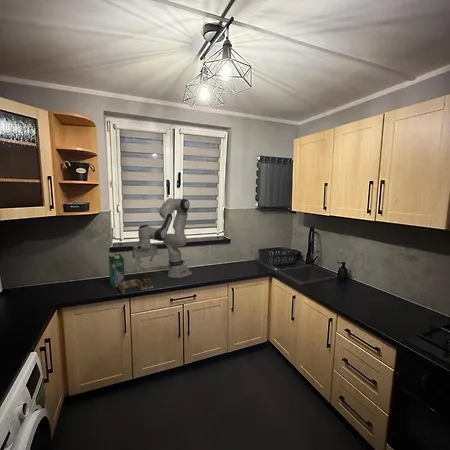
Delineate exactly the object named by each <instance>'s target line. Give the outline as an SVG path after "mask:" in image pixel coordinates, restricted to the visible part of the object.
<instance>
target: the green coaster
mask: <svg viewBox="0 0 450 450" xmlns="http://www.w3.org/2000/svg"><path fill="white" fill-rule="evenodd" d="M153 288H155V287H154V286H153V285H152V284H151V287H148V288H145V287H143V290H144V289H145V290H149V289H153Z"/></svg>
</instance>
